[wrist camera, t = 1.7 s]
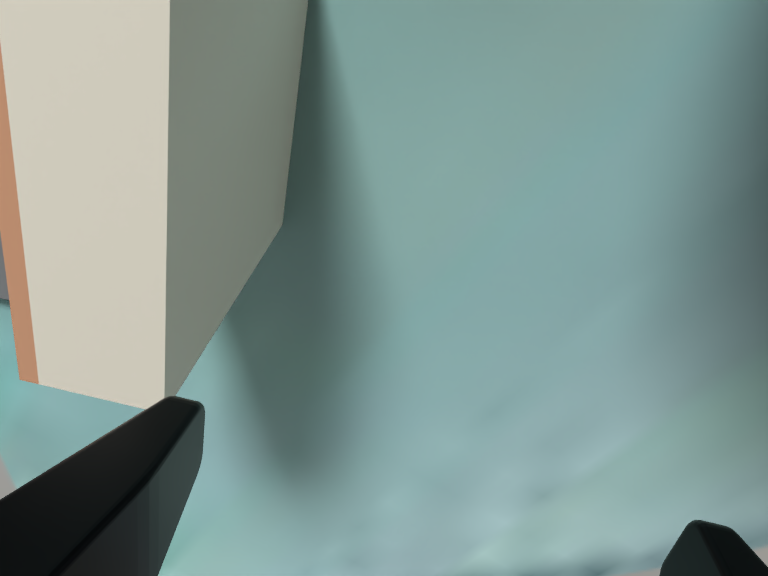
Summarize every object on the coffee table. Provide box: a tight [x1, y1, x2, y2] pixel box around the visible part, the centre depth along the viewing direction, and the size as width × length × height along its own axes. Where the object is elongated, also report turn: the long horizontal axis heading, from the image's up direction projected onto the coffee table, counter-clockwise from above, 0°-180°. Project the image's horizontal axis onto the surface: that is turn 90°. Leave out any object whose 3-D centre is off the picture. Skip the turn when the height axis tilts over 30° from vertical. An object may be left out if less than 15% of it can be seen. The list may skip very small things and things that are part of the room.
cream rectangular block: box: [0, 0, 308, 409], centre depth 15 cm, size 3×8×9 cm, turn 169°
